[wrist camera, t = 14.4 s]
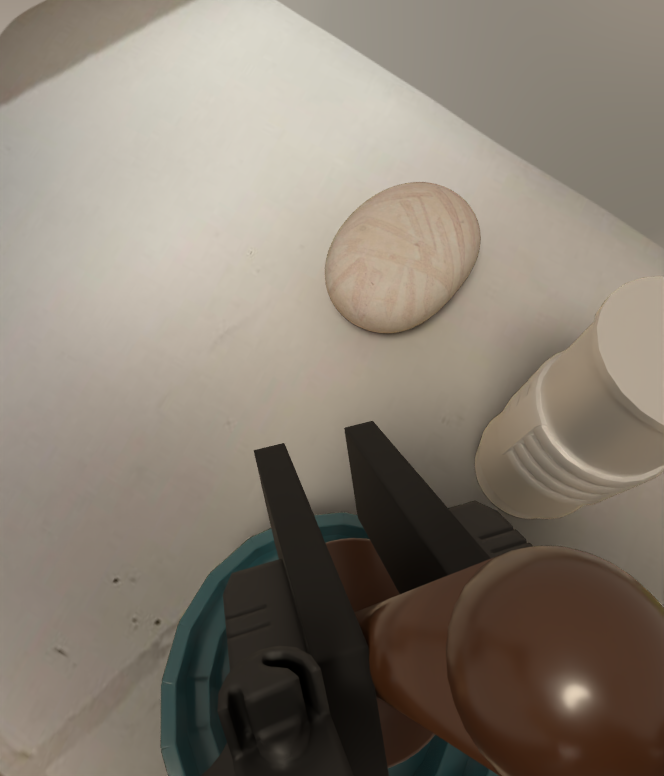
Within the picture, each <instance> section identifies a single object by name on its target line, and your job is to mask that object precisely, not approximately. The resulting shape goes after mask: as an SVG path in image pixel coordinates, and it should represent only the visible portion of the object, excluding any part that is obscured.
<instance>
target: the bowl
mask: <svg viewBox="0 0 664 776" xmlns="http://www.w3.org/2000/svg"><path fill="white" fill-rule="evenodd" d="M314 516H315V519H316V521H317V524H318V526H319V529H320V531H321V533H322V536H323V538H324V541H325V543H327V542H330V541H334V540H339V539H348V538H362V539H369V537H368V535H367V533H366V532H365V530H364V528H363V526H362V524H361V523H360V521H359V519H358V515H356V514H351V513H346V512H344V513H343V512H338V513H328V514H319V515H314ZM275 560H279V557H278V553H277V550H276V546H275V542H274V538H273V533H272V529H271V528H270V529H268V530H266V531H264V532H261V533H259V534H257V535H255V536H252V537H251V538H250V539H248V540H247V541H245V542H244V543H243V544H242V545H241V546H240V547H239V548H237V549H236V550H235V551H234V552H233V553H232V554H231V555H230V556H228V557H227V558H226V559H225V560H224V561H223V562H222V563H221V564H219V565H218V566H217V567H216V568H215V569H214V570H213V571H212V572H211V573H210V574H209V575H208V576H207V578H206V579H205V581H204V583H203V584H202V586H201V587H200V589H199V591H198V592H197V594H196V595H195V597H194V599H193V600H192V602H191V603H190V605H189V607H188V608H187V610H186V611H185V613H184V615H183V616H182V618H181V619H180V621H179V624H178V626H177V630H176V633H175V637H174V640H173V643H172V647H171V650H170V654H169V657H168V661H167V664H166V668H165V671H164V674H163V678H162V684H161V753H162V756H163V760H164V763H165V767H166V770H167V774H168V776H201V775H202V774H203V773H204V772H205V771H207V770H208V769H209V768H210V767H211V766H212V764H213V763H214V762H215V761H216V759H217V758H218V757H219V756H220V754H221V753H222V751H223V749H224V747H225V745H226V743H227V740H226V737H225V734H224V731H223V728H222V725H221V722H220V718H219V715H218V712H217V709H218V694H219V691H220V689H221V687H222V685H223V683H224V681H225V678H226V676H227V675H228V673H229V672H230V666H229V655H228V645H227V635H226V624H225V621H226V620H225V614H224V603H223V593H224V590H225V588H226V586H227V583H228V581H229V578H230V576H231V574H232V573H234V572H237V571H241V570H244V569H248V568H251V567H255V566H258V565H261V564H265V563H268V562H272V561H275ZM388 772H389V776H499V775H497V774H496V773H494V772H493V771H491V770H489V769H488V768H486V767H485V766H483V765H482V764H480V763H479V762H477V761H476V760H474V759H472V758H471V757H469V756H468V755H466V754H465V753H463V752H462V751H460V750H458V749H457V748H455V747H454V746H452V745H451V744H449V743H448V742H446V741H445V740H443V739H441V738H440V737H438V736H437V735H435V736H434V737H433V738H432V739H431V740H430V742H429V743H428V744H426V745H425V746H424V747H423V748H422V749H421V750H420V751H419V752H418V753H416V754H415V755H413V756H412V757H410V758H409V759H407V760H406V761H404V762H402V763H399V764H397V765H395V766H393V767H390V768H388Z"/></svg>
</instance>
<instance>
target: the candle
mask: <svg viewBox="0 0 664 776" xmlns="http://www.w3.org/2000/svg"><path fill="white" fill-rule="evenodd" d="M663 471H664V276H657V277H643V278H640V279H637V280H634V281H631V282H628V283H625V284H624V285H622V286H621V287H620V288H618V289H617V290H616V291H614V292H613V293H612V294H610V296H609V297H608V298H607V299H606V300H605V301H604V303H603V304H602V306H601V307H600V309H599V310H598V312H597V313H596V315H595V319H594V322H593V323H592V324H591V325H590V326H589V327H588V328H587V329H586V330H585V331H584V332H583V333H582V335H581V336H580V337H579V338H578V339H577V340H576V341H575V342H574V343H573V344H572V345H571V346H570V347H569V348H568V349H567V350H565V351H562V352H559V353H556V354H555V355H554V356H552V357H551V358H550V359H548V360H547V361H546V362H544V363H543V364H542V365H541V367H540V368H539V369H538V371H537V372H535V373H534V374H533V375H532V376H531V377H530V379H529V380H528V381H527V382H526V383H525V384H524V385H523V386H522V387H521V388H520V390H519V391H518V392H516V393H515V394H514V395H513V396H512V398H511V399H510V401H509V402H508V404H507V405H506V407H505V408H504V411H503V412H501V413H500V414H499V415H498V416H496V417H495V418H494V419H492V420H491V421H490V423H489V424H488V426H487V427H486V429H485V430H484V432H483V435H482V438H481V441H480V445H479V446H478V449H477V453H476V456H475V472H476V476H477V480H478V483H479V485H480V487H481V489H482V490H483V492H484V494H485V495H486V496H487V497H488V499H489V500H490V501H491V502H492V503H493V504H494V505H495V506H497V507H498V508H499V509H501V510H502V511H504V512H505V513H508V514H510V515H513V516H515V517H518V518H525V519H535V518H541V519H553V518H561V517H563V516H566V515H568V514H570V513H572V512H574V511H576V510H578V509H579V508H581V507H582V506H585V505H593V504H596V503H598V502H601V501H603V500H605V499H608V498H610V497H612V496H615V495H617V494H619V493H622V492H624V491H626V490H628V489H631V488H633V487H635V486H638V485H640V484H642V483H645V482H647V481H649V480H651V479H654V478H656V477H658V476H659V475H660V474H661V473H662V472H663Z"/></svg>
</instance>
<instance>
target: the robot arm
mask: <svg viewBox="0 0 664 776" xmlns="http://www.w3.org/2000/svg"><path fill="white" fill-rule="evenodd" d="M344 429H345V436H346V442H347V449H348V455H349V462H350V469H351V475H352V482H353V488H354V495H355V501H356V508H357V514H358V519H359V521H360V523H361V524H362V526H363V528H364V530H365V532H366V533H367V535H368V537H369V539H370V541H371V543H372V544H373V546H374V548H375V550H376V552H377V554H378V555H379V557H380V559H381V561H382V563H383V564H384V566H385V568H386V570H387V572H388V574H389V575H390V577H391V579H392V581H393V583H394V585H395V586H396V588H397V590H398V592H399V594H402V593H405V592H407V591H410V590H412V589H415V588H417V587H420V586H423V585H425V584H428V583H430V582H433V581H435V580H438V579H440V578H443V577H445V576H448V575H451V574H453V573H456V572H458V571H461V570H463V569H466V568H468V567H471V566H473V565H476V564H479V563H481V562H484V561H486V560H489V559H491V558H494V557H496V556H499V555H501V554H504V553H507V552H509V551H512V550H516V549H520V548H525V547H533V546H532V545H531V544H530V543H527V542H526V539H525V538H524V537H523V536H522V535H521V534H520V533H519V532H518V531H517V530H514V529H513V526H512V525H511V524H510V523H509V522H508V521H507V520H506V519H505V518H504V517H503V516H502V515H501V514H500V513H499V512H498V511H496V510H494V509H492V508H490V507H488V506H485V505H483V504H481V503H479V502H477V501H472V502H468V503H465V504H462V505H458V506H455V507H451V508H447V507H446V506H445V504H444V503H443V502H442V501H441V500H440V499H439V497H438V496H437V495H436V494H435V493H434V492H433V490H432V489H431V488H430V487H429V486H428V485H427V483H426V482H425V481H424V480H423V479H422V478H421V477H420V475H419V474H418V473H417V472H416V471H415V470H414V468H413V467H412V466H411V465H410V464H409V463H408V461H407V460H406V459H405V458H404V457H403V456H402V454H401V453H400V452H399V451H398V450H397V449H396V447H395V446H394V445H393V444H392V443H391V442H390V440H389V439H388V438H387V437H386V436H385V435H384V433H383V432H382V431H381V430H380V429H379V428H378V426H377V425H376V424H375V423H374V422H373V421H370V422H366V423H362V424H358V425H354V426H350V427H346V428H344ZM254 453H255V458H256V462H257V467H258V471H259V475H260V480H261V484H262V489H263V493H264V498H265V502H266V507H267V511H268V515H269V520H270V524H271V529H272V533H273V538H274V542H275V546H276V550H277V553H278V557H279V560H275V561H272V562H268V563H265V564H261V565H258V566H255V567H251V568H248V569H244V570H241V571H237V572H234V573H232V574H231V576H230V578H229V581H228V583H227V586H226V588H225V590H224V593H223V603H224V614H225V620H226V621H225V624H226V635H227V645H228V655H229V666H230V672H229V673H228V675H227V676H226V678H225V681H224V683H223V685H222V687H221V689H220V691H219V694H218V709H217V712H218V715H219V718H220V722H221V725H222V728H223V731H224V734H225V737H226V740H227V743H226V745H225V747H224V749H223V751H222V753H221V754H220V756H219V757H218V758H217V759H216V761H215V762H214V763H213V764H212V766H211V767H210V768H209V769H208V770H207V771H205V772H204V773H203V774H202V775H201V776H389V772H388V766H387V760H386V754H385V747H384V741H383V735H382V729H381V723H380V716H379V710H378V704H377V698H376V692H375V686H374V684H373V681H372V678H371V673H370V667H369V648H368V645H367V642H366V640H365V637H364V635H363V633H362V630H361V628H360V625H359V623H358V620H357V618H356V616H355V613H354V611H353V608H352V606H351V604H350V601H349V599H348V596H347V594H346V591H345V589H344V587H343V584H342V582H341V579H340V577H339V574H338V572H337V570H336V567H335V565H334V562H333V560H332V558H331V555H330V553H329V550H328V548H327V545H326V543H325V541H324V538H323V536H322V533H321V531H320V529H319V526H318V524H317V521H316V519H315V516H314V514H313V512H312V509H311V507H310V504H309V502H308V499H307V497H306V495H305V492H304V490H303V487H302V485H301V483H300V480H299V478H298V475H297V473H296V470H295V468H294V466H293V463H292V461H291V458H290V456H289V454H288V451H287V449H286V446H285V444H284V443H282V444H278V445H274V446H270V447H266V448H262V449H258V450H254Z"/></svg>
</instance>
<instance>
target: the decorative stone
mask: <svg viewBox="0 0 664 776" xmlns="http://www.w3.org/2000/svg"><path fill="white" fill-rule="evenodd" d="M480 240H481V236H480V228H479V224H478V220H477V218H476V216H475V214H474V212H473V210H472V209H471V207H470V206H469V205H468V203H467V202H466V201H465V200H464V199H463V198H462V197H461V196H459V195H458V194H457V193H455V192H453V191H452V190H450V189H448V188H446V187H443V186H440V185H437V184H433V183H426V182H413V183H405V184H401V185H397V186H393V187H391V188H388V189H386V190H384V191H382V192H380V193H378V194H376V195H375V196H373V197H371V198H370V199H369V200H367V201H366V202H365V203H363V204H362V205H361V206H360V207H359V208H357V209H356V210H355V211H354V212H353V213H352V214H351V215H350V216H349V218H348V219H347V220H346V221H345V222H344V224H343V225H342V226H341V228H340V229H339V230H338V232H337V234H336V236H335V237H334V239H333V241H332V243H331V246H330V248H329V251H328V254H327V258H326V265H325V281H326V287H327V291H328V294H329V296H330V299H331V301H332V302H333V304H334V306H335V307H336V309H337V310H338V311H339V312H340V313H341V314H342V315H343V316H344V317H345V318H346V319H347V320H348V321H350V322H351V323H353V324H355V325H356V326H358V327H361V328H363V329H365V330H369V331H373V332H378V333H396V332H401V331H405V330H408V329H411V328H413V327H416V326H418V325H420V324H421V323H423V322H425V321H426V320H428V319H429V318H430V317H432V316H433V315H434V314H435V313H436V312H438V311H439V310H440V309H441V308H442V307H443V306H444V305H445V304H446V303H447V302H448V301H449V300H450V299H451V298H452V296H453V295H454V294H455V293H456V292H457V291H458V289H459V288H460V287H461V285H462V284H463V283H464V281H465V280H466V278H467V277H468V275H469V274H470V272H471V270H472V268H473V266H474V264H475V262H476V259H477V257H478V253H479V249H480Z"/></svg>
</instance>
